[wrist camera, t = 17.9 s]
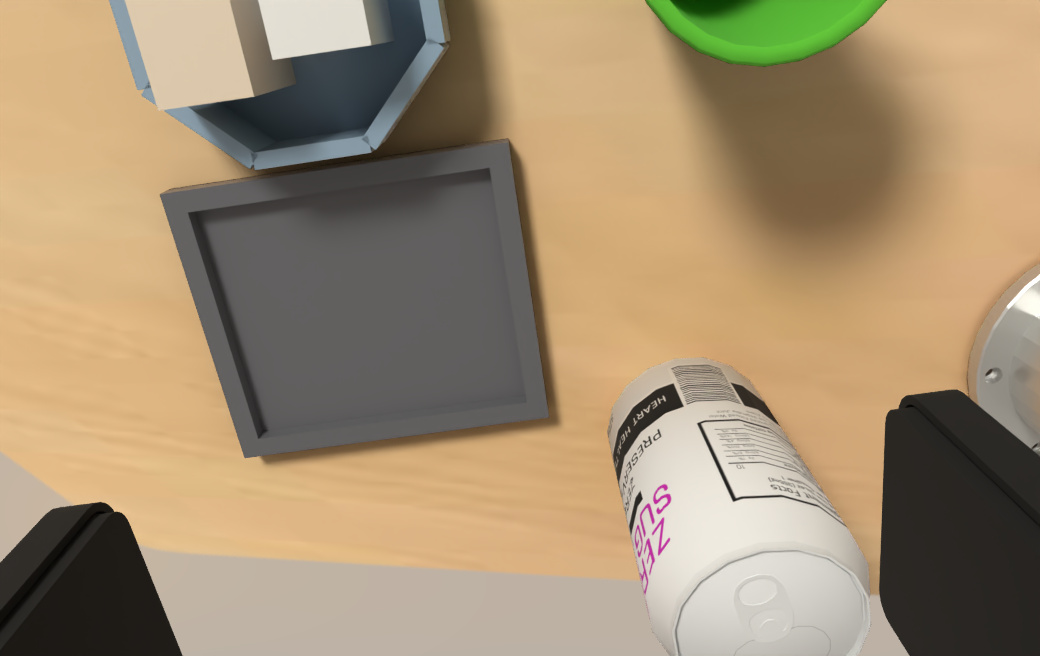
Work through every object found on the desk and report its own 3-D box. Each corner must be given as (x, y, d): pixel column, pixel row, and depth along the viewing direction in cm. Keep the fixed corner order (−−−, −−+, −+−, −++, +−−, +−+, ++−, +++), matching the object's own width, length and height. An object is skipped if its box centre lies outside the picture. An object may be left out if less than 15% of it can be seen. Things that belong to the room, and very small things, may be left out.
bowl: (413, -191, 31) (400, -220, 27) (466, 126, 35) (461, 138, 31) (111, -140, 31) (57, -162, 27) (202, 166, 36) (167, 183, 32)
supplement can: (778, 456, 42) (911, 675, 28) (634, 506, 43) (694, 739, 29) (736, 328, 39) (860, 500, 25) (583, 385, 40) (622, 579, 26)
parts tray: (508, 138, 35) (508, 142, 34) (547, 406, 41) (549, 417, 39) (170, 188, 36) (159, 194, 35) (251, 446, 41) (244, 458, 40)
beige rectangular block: (270, -26, 32) (220, -36, 26) (296, 83, 34) (254, 96, 28) (186, -13, 32) (118, -20, 27) (216, 95, 34) (158, 110, 28)
